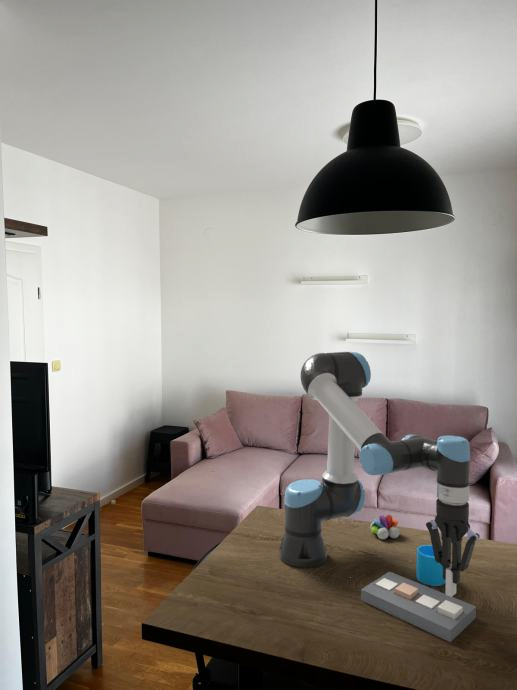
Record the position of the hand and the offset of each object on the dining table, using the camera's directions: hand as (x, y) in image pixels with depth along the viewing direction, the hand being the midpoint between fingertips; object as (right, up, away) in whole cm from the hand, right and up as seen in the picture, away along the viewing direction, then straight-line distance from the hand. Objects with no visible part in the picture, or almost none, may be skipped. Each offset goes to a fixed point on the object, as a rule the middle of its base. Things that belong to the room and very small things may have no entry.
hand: (450, 593), depth 129 cm
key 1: (-13, -7, +14) cm, 20 cm away
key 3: (-4, -7, +5) cm, 10 cm away
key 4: (0, -6, +1) cm, 6 cm away
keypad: (-6, -7, +7) cm, 12 cm away
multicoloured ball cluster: (-4, -5, +52) cm, 53 cm away
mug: (+3, -7, +25) cm, 26 cm away
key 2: (-8, -6, +9) cm, 14 cm away
